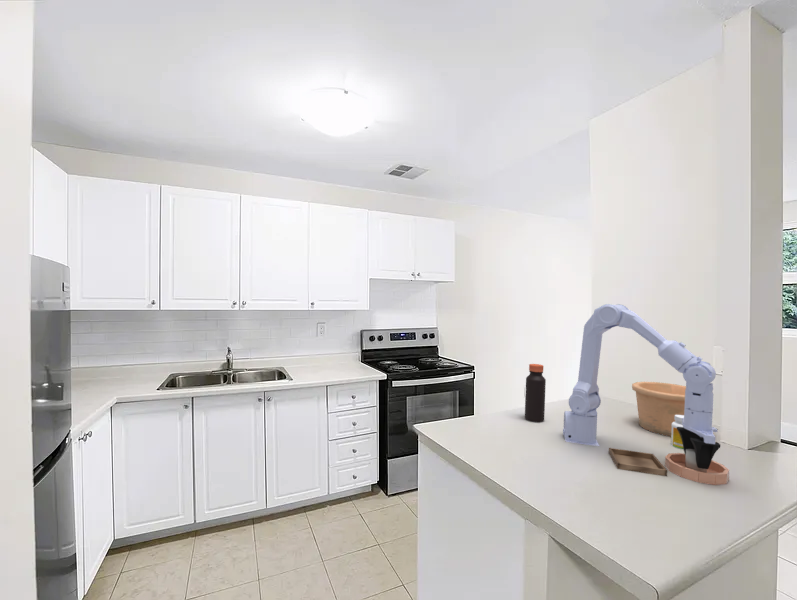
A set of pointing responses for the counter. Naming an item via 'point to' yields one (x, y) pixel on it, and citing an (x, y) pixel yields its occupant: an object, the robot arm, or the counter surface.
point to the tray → (637, 462)
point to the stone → (692, 461)
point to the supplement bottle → (676, 432)
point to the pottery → (659, 405)
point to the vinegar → (535, 394)
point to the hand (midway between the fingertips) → (696, 461)
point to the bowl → (713, 476)
